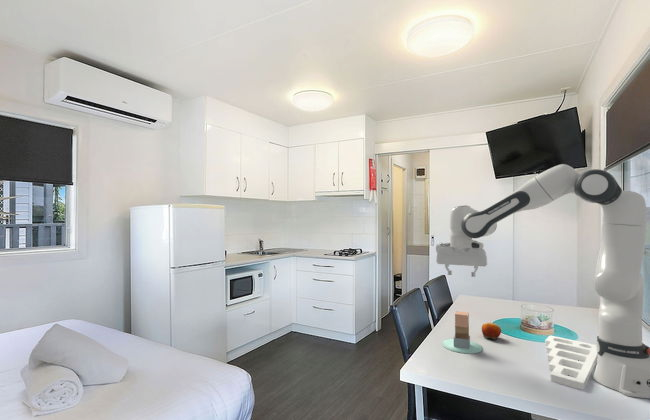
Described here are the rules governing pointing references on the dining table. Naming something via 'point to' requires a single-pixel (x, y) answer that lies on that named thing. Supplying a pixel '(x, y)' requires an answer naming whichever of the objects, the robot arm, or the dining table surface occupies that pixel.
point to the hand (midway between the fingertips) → (461, 275)
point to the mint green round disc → (462, 345)
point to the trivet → (570, 361)
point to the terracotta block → (462, 319)
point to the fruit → (491, 330)
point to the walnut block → (462, 332)
